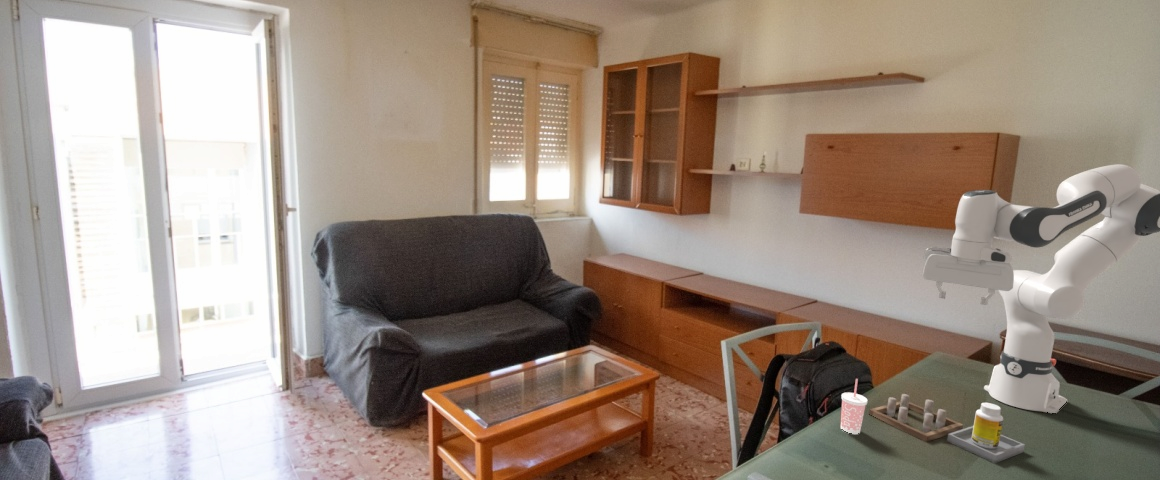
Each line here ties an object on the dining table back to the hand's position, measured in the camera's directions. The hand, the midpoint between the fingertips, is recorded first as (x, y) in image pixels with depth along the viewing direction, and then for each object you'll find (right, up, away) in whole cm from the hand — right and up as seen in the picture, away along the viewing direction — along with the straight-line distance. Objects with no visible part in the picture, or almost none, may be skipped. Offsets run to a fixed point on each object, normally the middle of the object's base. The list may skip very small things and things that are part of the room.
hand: (962, 301), depth 152 cm
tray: (-2, -35, -11) cm, 37 cm away
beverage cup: (-33, -33, -6) cm, 47 cm away
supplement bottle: (-2, -35, -11) cm, 37 cm away
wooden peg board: (-13, -33, +1) cm, 35 cm away
